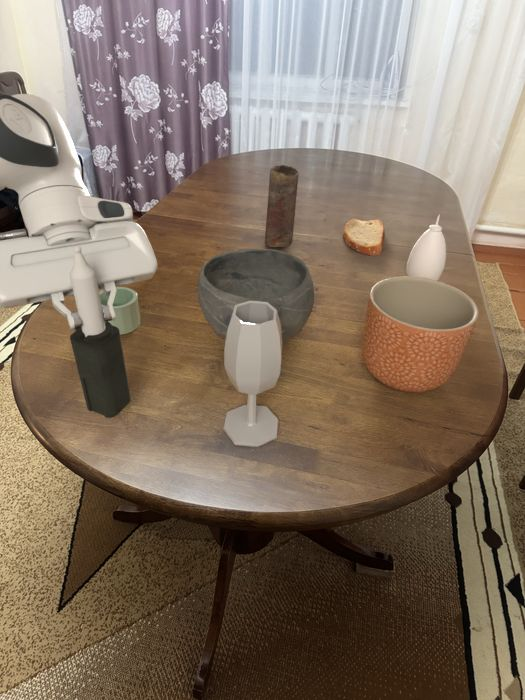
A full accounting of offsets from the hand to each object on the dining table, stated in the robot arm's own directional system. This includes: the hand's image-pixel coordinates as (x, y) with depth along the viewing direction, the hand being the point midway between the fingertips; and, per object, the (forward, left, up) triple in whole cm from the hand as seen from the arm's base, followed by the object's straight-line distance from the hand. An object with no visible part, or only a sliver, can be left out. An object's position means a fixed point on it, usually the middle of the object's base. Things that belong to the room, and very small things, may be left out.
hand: (93, 323), depth 60 cm
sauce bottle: (+70, +28, -19) cm, 78 cm away
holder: (+2, +29, -19) cm, 34 cm away
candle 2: (+45, +58, -19) cm, 76 cm away
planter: (+50, +1, -19) cm, 53 cm away
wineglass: (+20, -5, -19) cm, 28 cm away
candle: (0, +1, -15) cm, 15 cm away
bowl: (+27, +18, -19) cm, 37 cm away
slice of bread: (+71, +57, -19) cm, 93 cm away
